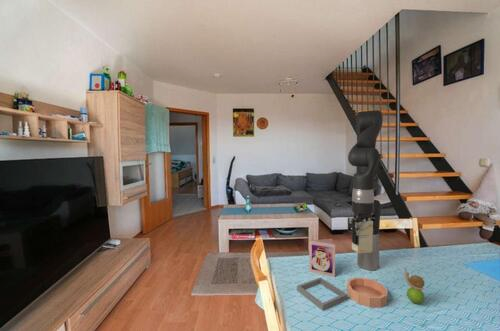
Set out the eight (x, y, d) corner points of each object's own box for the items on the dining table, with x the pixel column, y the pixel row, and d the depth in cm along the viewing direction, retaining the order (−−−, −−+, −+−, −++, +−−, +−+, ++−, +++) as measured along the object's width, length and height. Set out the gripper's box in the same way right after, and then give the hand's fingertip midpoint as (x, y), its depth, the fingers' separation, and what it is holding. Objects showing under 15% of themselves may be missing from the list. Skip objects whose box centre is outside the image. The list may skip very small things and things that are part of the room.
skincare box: (357, 253, 90) (358, 222, 89) (351, 248, 94) (351, 218, 93) (373, 252, 90) (373, 221, 89) (366, 247, 95) (366, 217, 94)
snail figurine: (404, 295, 93) (405, 265, 92) (424, 301, 89) (425, 270, 88) (402, 301, 89) (403, 270, 88) (423, 309, 85) (425, 276, 84)
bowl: (362, 282, 102) (362, 274, 102) (395, 299, 90) (395, 291, 90) (339, 291, 96) (339, 283, 95) (371, 312, 83) (372, 302, 83)
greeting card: (308, 272, 111) (309, 241, 110) (312, 265, 118) (312, 235, 117) (334, 278, 106) (335, 245, 105) (336, 270, 113) (336, 239, 112)
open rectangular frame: (320, 281, 103) (320, 277, 103) (347, 299, 91) (347, 294, 90) (297, 290, 97) (297, 285, 97) (322, 310, 84) (322, 305, 84)
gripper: (366, 196, 97) (365, 235, 99) (341, 200, 91) (341, 242, 92) (383, 199, 91) (382, 241, 92) (358, 204, 84) (358, 249, 85)
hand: (362, 241), depth 92 cm, fingers closed on skincare box, 7 cm apart
